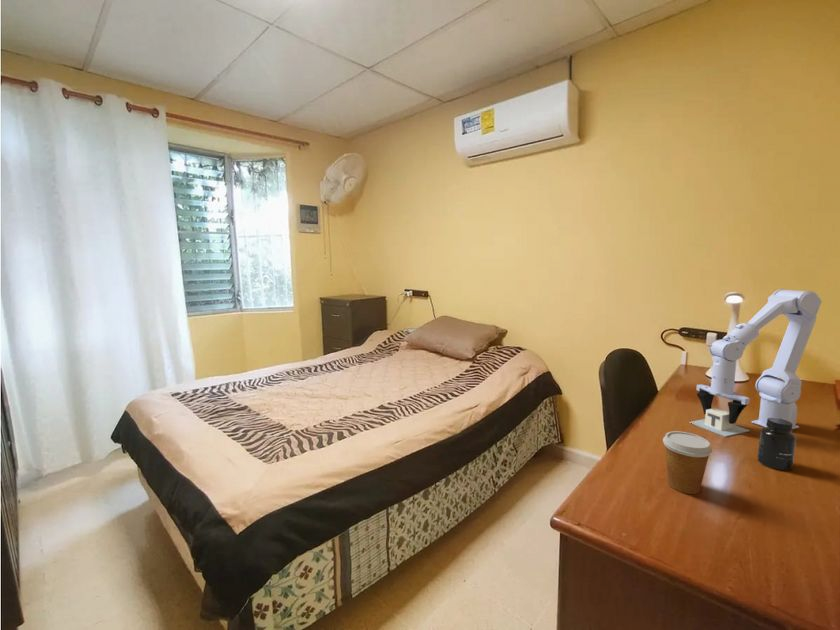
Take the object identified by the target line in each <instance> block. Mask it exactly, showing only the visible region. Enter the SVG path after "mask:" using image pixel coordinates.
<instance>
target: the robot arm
mask: <svg viewBox="0 0 840 630" xmlns="http://www.w3.org/2000/svg"><path fill="white" fill-rule="evenodd" d="M822 303H823V302H822V300H821V298H820V296H819V295H818V294H817V292H815V291H811V290H807V291H806V290H794V289H793V290H791V289H784V288H781V289H780V288H779V289H776V291H774V292H773V293H772V294H771V295H769V296H768V297H767V303H766V304H764V306H762V308H760V310H759V311H757V313H755V314H754V315H753V317H752V318H751V319H749V321H748V322H742V323H739V324H736V325H735V326H734V328H733V329H732V330H731V331H730V332H729V333H728V334H726V335H725V336H723V338H722V339H717V340H715V341H714V342H712V343H711V345H710V347H709V348H708V350H709V351H708V352H709V354H710V355H711V360H712V369H711V382H710V385H705V384H702V383H700V384H696V391H698V392H696V396H697V397H698V399H699V401H700V404H701V407H702V411H703V415H706V410H707V409H712V405H713V401H714V397H715V396H717V397H719V398H724V399H727V400H730V401H728V402H727V406H728V412H729V423H730V424H733V425H735V424H736V423H737V421H738V418H739V417H740V414H741V413H742V412H743V410H744V409H745V408H746V407H747V406H748V405H749V404H750V402H751V401H750V400H751V399H750V397H747V396H745V395H742V394H739V393H737V392H735V391H734V390H735V380H736V379H735V378H736V370H737V362H738V361H737V360H740V358H742V357H743V355H744V351H745V350H746V347H747V346H748V345H750V344H751V343H752V342H754V341H755V339H757V338H758V337H759V335H760V330H761V329H762V328H764V327H765V326H766V325H768V324H769V323H771V322H772V321H773V320H775V319H776V318H778V317H779V316H780V315H784V316H785V317H786V318H787V319H788V321H789V322H788V324H787V328H786V331H785V333H784V335H783V338H782V341H781V344H780V346H779V349H778V351H777V353H776V357H775V359H774V360H773V361H774V362H773V364H772V366H771V367H770V368H768V369H765V370H763V371H762V373H761V375H760V376H759V378H757V379H756V382H755V385H754V386H755V390H756V391H757V392H758V394H759V396H760V404H759V412H758V414H759V415H758V419H756V420H755V419H754V420H752V421H751V423H752V424H755V425H757V426H761V427H763V428H765V427H767V426H766V423H767V419H768V418H779V419H783V420H786V421H789V422H791V423H792V424H793V426H792V430H796V429H799V428H800V426H799V425H796V424H797V416H798V414H797V413H798V405H797V404H796V402H797V401H798V400H799V398H800V397H801V395H802V390H801V388H802V384H803V381H802V380H801V379H800V378H799V376H798V375H797V373H796V372H797V370H798V368H799V364H800V362H801V359H802V357H803V355H804V352H805V349H806V347H807V344H808V342H809V339H810V337H811V334H812V332H813V329H814V327H815V324H816V320H817V314H818V312H819V310H820V307H821V304H822Z"/></svg>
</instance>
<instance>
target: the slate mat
mask: <svg viewBox="0 0 840 630" xmlns="http://www.w3.org/2000/svg"><path fill="white" fill-rule="evenodd" d="M691 423H692V425H693V424H694V426H695V427H698V428H701V429H703V430H707V431H709V432H712V433H713V434H716V435H720V436H722V437H724V438H727V437H731V436H736V435H740V434H743V433H748V432H749V433H750V430H749V429H746V428H744V427H741V426H739V425H736V424H732V428H731V429H726V430H722V431H721V430H718V429H716V428H713V427H710V426H708V425H705V418H703V419H697V420H694V421H688V424H691Z"/></svg>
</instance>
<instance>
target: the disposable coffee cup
mask: <svg viewBox="0 0 840 630" xmlns="http://www.w3.org/2000/svg"><path fill="white" fill-rule="evenodd" d="M662 443H663V445H664V451H665V452H664V453H665V466H666V477H667V478H666V479H667V484H668V486H669V487H670V488H671V489H673V490H675V491H677V492H679V493H682V494H687V495H696V494H699V493H700V491H701V487H702V483H703V479H704V476H705V472H706V468H707V464H708V459H709V457H710V455H711V454H712V452H713V448H712V447H711V443H710V442H709V440H708V439H706V438H704V437H702V436H701V435H698V434H694V433H691V432H685V431H676V430H673V431H668V432H666V433H665V436H664V437H663V438H662Z"/></svg>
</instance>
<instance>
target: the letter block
mask: <svg viewBox="0 0 840 630" xmlns="http://www.w3.org/2000/svg"><path fill="white" fill-rule="evenodd" d="M704 415H705V414H704ZM704 419H705V425H708V426H710V427H713V428H716V429H718V430H721V431H722V430H726V429H731V428H732V424H730V423H729V410H724V409H721V408H719V407H714V408H711V409H707V410H706V415H705V416H704Z"/></svg>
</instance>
